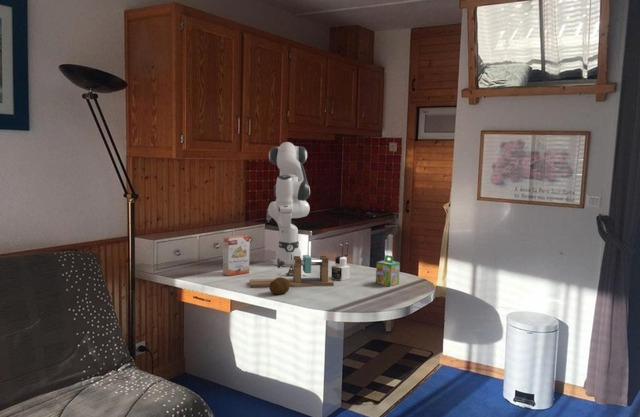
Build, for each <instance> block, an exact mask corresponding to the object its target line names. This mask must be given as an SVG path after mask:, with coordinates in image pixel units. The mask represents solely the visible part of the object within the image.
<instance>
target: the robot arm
mask: <svg viewBox="0 0 640 417" xmlns="http://www.w3.org/2000/svg"><path fill="white" fill-rule="evenodd" d="M307 158H308V151H307V150H306V148H305V147H304V146H300V145H298V146H297V145H294V143H292V142H289V141H285V142H282V143H281V144H280V145H279V146H273V147H271V148H270V150H269V152H268V159H269V162H270V163H271V164H272V165H275V166H277V168H278V170H279V176H277V178H276V183H275V185H273V196H274V197H275V201H271V202H270V203H269V205H268V207H267V208H268V209H267V211H268V214H269V216H270V217H271V218H272V219H273V220H274V221H275V222H276V224H277V226H278V232H279V241H278V249H277V250H276V252H275V253H274V258H275V259H274V260H273V261H272V265H273V266H277V259H279V258H280V260H291V254H292V260H294V256H300V258H301V259H302V250H301V249H299V247H300V245H299V244H300V242H299V230H298V227H297V226H296V225H295V224H293V223H292V219H300V218H304V217H307V216H308V215H309V213H310V209H311V208H310V204H309V202H307V199H309V198H310V195H311V189H310V185H309V181H308V179H307V174H306V170H305V167H304V165H303V164H305V163H306V161H307Z"/></svg>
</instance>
